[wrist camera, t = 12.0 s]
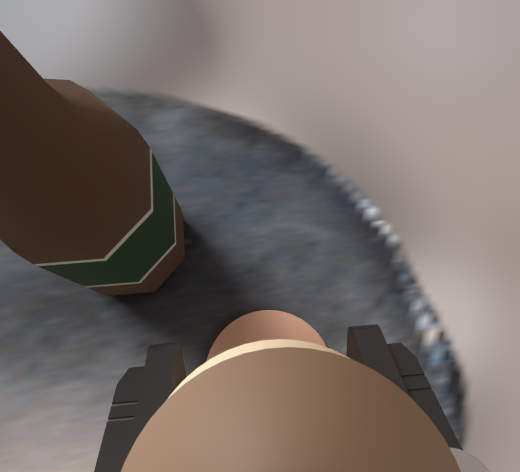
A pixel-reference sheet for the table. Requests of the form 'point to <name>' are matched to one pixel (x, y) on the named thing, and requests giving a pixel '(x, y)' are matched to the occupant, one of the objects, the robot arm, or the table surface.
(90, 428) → the table surface
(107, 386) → the table surface
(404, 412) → the pepper mill
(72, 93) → the beer bottle
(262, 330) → the saucer
